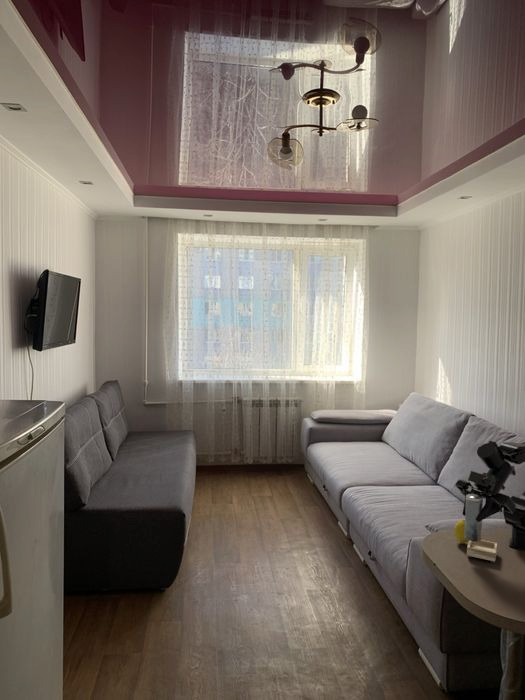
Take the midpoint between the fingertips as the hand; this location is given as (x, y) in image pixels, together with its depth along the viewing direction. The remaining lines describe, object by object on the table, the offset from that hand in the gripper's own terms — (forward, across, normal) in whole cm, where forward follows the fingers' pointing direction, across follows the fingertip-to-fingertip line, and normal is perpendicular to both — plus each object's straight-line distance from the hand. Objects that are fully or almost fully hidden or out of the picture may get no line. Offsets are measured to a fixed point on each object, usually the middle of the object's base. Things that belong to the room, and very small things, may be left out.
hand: (470, 518), depth 159 cm
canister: (+4, 0, +6) cm, 7 cm away
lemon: (+4, -9, +15) cm, 18 cm away
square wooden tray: (+5, 0, +13) cm, 14 cm away
